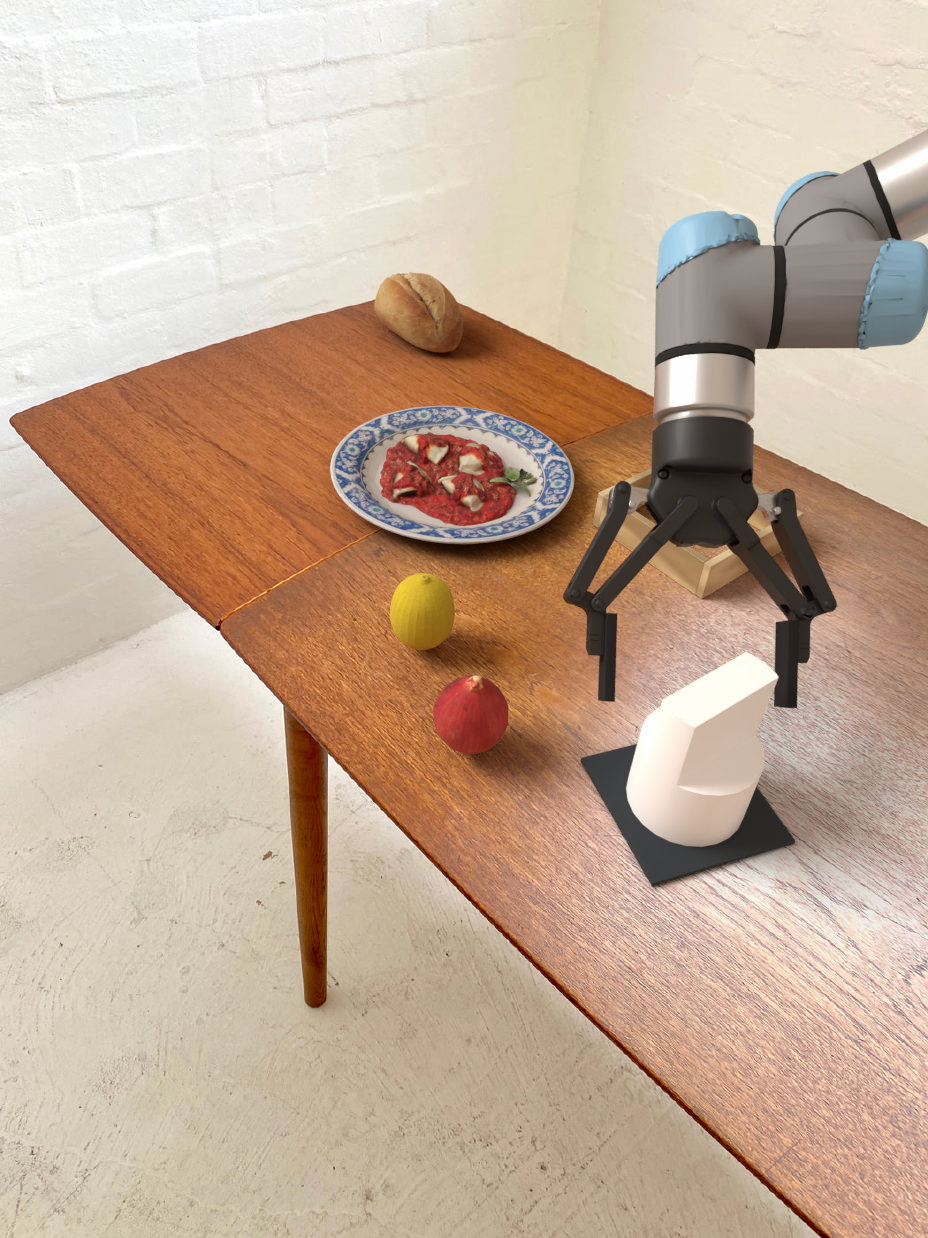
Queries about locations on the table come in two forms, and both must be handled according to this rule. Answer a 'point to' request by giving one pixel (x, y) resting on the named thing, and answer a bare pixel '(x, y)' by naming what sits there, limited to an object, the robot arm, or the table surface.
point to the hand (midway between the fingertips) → (696, 704)
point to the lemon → (422, 611)
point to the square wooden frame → (686, 561)
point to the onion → (471, 714)
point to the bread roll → (420, 311)
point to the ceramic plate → (452, 474)
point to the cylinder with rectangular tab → (702, 755)
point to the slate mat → (673, 859)
